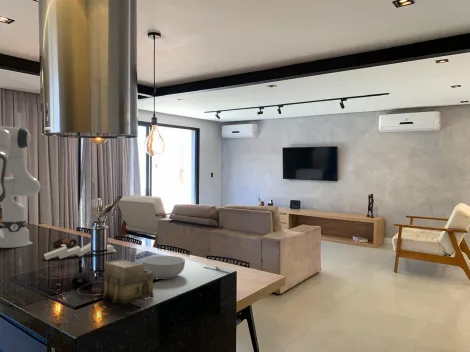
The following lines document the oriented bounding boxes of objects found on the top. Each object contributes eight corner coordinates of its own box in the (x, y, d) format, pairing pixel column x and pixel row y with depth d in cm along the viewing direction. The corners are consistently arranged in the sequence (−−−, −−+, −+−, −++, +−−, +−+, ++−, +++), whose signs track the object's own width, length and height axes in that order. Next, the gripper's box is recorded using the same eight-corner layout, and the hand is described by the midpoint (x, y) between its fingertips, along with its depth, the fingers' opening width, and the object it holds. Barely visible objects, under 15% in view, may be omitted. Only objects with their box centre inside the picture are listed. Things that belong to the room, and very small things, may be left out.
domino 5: (96, 252, 181) (116, 250, 187) (94, 250, 186) (113, 249, 191) (96, 256, 181) (116, 254, 187) (94, 254, 186) (113, 252, 191)
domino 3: (77, 253, 177) (96, 242, 182) (74, 251, 180) (93, 241, 186) (79, 256, 177) (98, 245, 183) (76, 255, 181) (94, 244, 187)
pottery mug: (60, 254, 183) (53, 240, 184) (54, 260, 189) (48, 246, 190) (82, 245, 192) (75, 232, 193) (76, 251, 198) (69, 238, 199)
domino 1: (44, 256, 168) (66, 247, 173) (43, 254, 173) (65, 245, 178) (46, 260, 169) (68, 251, 174) (45, 258, 173) (66, 249, 178)
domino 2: (58, 255, 172) (80, 247, 177) (57, 253, 176) (78, 245, 181) (59, 259, 172) (81, 251, 177) (58, 257, 176) (79, 249, 181)
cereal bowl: (193, 277, 143) (193, 260, 143) (157, 286, 132) (158, 266, 132) (168, 269, 155) (168, 253, 155) (134, 276, 143) (134, 259, 144)
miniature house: (122, 307, 110) (123, 270, 110) (98, 297, 118) (98, 263, 118) (161, 295, 121) (161, 261, 121) (136, 287, 130) (136, 255, 130)
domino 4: (94, 248, 181) (113, 246, 188) (90, 247, 185) (109, 244, 192) (94, 252, 181) (113, 249, 188) (90, 251, 185) (109, 248, 192)
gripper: (-11, 222, 150) (16, 243, 155) (-10, 217, 167) (14, 236, 172) (-24, 234, 147) (3, 255, 153) (-22, 227, 164) (3, 246, 170)
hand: (9, 244), depth 163 cm, fingers closed
